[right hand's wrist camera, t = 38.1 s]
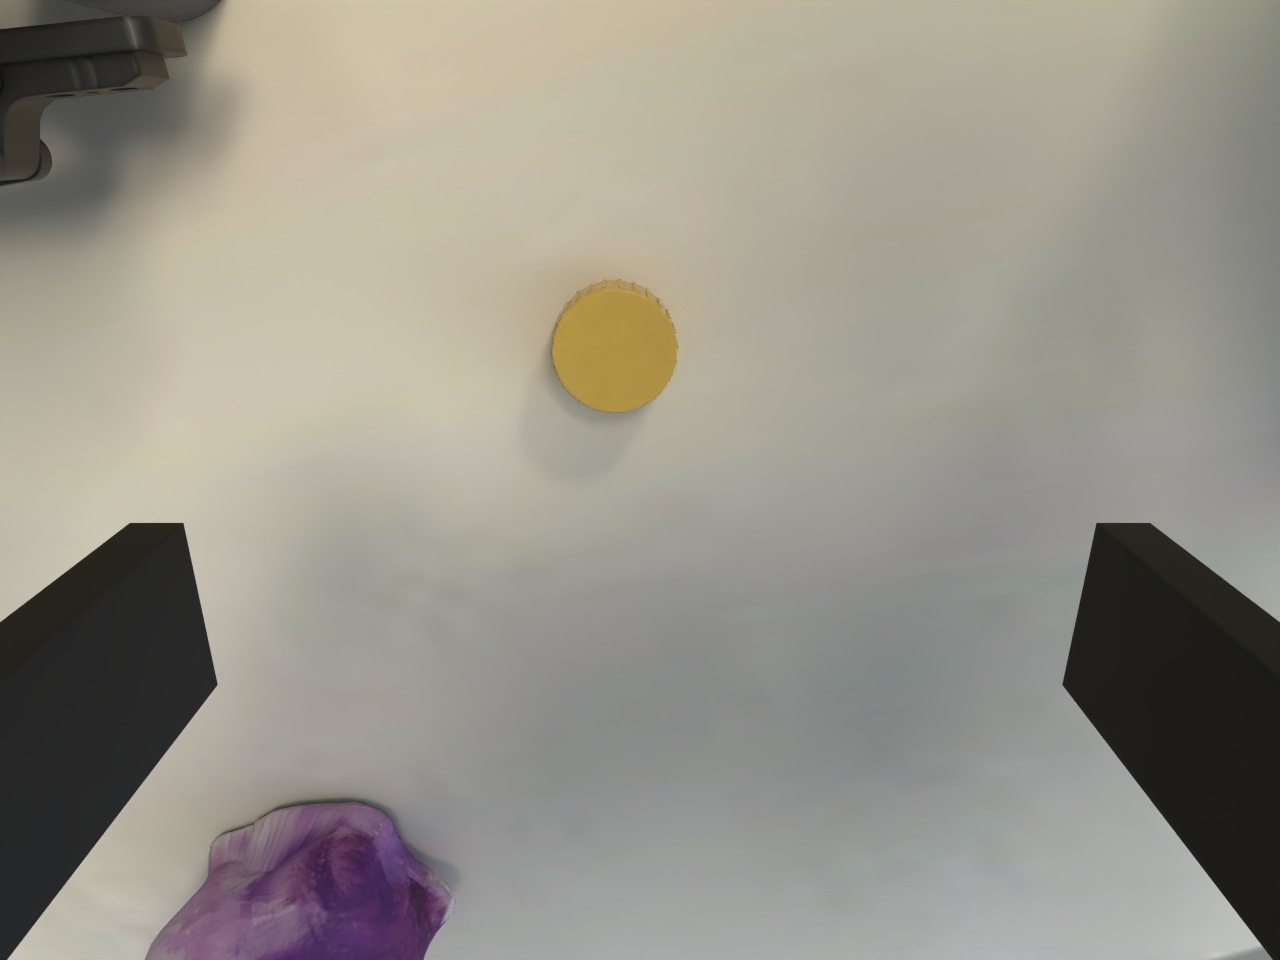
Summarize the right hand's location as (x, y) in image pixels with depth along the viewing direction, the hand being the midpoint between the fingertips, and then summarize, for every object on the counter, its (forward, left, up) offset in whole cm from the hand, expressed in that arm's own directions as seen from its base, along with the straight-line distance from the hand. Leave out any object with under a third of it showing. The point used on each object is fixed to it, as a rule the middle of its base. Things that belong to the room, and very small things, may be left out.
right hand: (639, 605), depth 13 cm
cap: (0, 0, -17) cm, 17 cm away
